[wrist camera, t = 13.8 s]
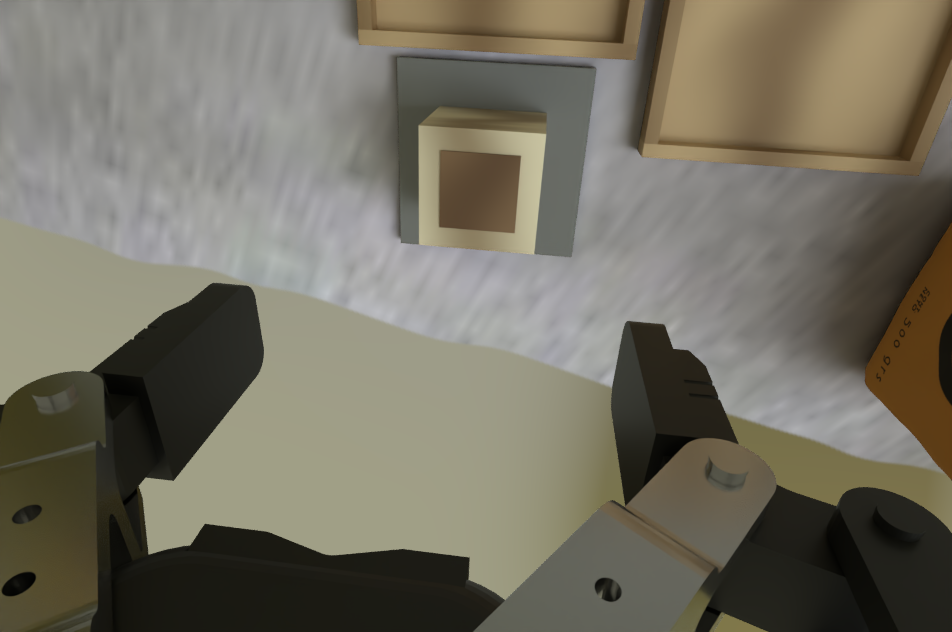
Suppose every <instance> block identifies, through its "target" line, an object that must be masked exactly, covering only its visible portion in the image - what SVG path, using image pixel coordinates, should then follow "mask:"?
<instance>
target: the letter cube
mask: <svg viewBox="0 0 952 632" xmlns="http://www.w3.org/2000/svg"><path fill="white" fill-rule="evenodd" d="M546 126H547V113H540V112H524V111H509V110H494V109H478V108H463V107H447V106H439V107H438V108H437V109H436V110H435V111H434V112H433V113H432V114H431V115H429V116H428V117H427V118H426V119H425V120H424V121H423V122H422V123H421V124H419V245H429V246H441V247H453V248H465V249H477V250H488V251H500V252H512V253H524V254H534V251H535V241H536V231H537V221H538V212H539V202H540V192H541V182H542V172H543V162H544V152H545V142H546Z"/></svg>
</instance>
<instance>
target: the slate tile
mask: <svg viewBox="0 0 952 632" xmlns="http://www.w3.org/2000/svg"><path fill="white" fill-rule="evenodd" d="M595 76H596V68H591V67H574V66H556V65H539V64H521V63H504V62H486V61H469V60H451V59H434V58H416V57H397V87H398V133H399V178H400V224H401V243H408V244H419V124H421V123H422V122H423V121H424V120H425V119H426V118H427V117H428V116H429V115H431V114H432V113H433V112H434V111H435V110H436V109H437V108H438V107H439V106H447V107H463V108H478V109H494V110H509V111H524V112H540V113H547V126H546V142H545V152H544V162H543V172H542V182H541V192H540V202H539V212H538V221H537V231H536V241H535V251H534V254H540V255H552V256H564V257H571V256H572V248H573V241H574V233H575V226H576V218H577V211H578V203H579V196H580V188H581V181H582V173H583V166H584V158H585V151H586V143H587V136H588V129H589V121H590V114H591V106H592V99H593V91H594V84H595Z"/></svg>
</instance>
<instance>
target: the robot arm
mask: <svg viewBox="0 0 952 632" xmlns="http://www.w3.org/2000/svg"><path fill="white" fill-rule="evenodd" d="M263 356H264V347H263V341H262V335H261V329H260V323H259V317H258V311H257V305H256V299H255V295H254V292H253V290H252V289H251V288H250V287H249V286H244V285H232V284H222V283H212V284H210V285H209V286H208V287H206V288H205V289H204V290H203V291H201V292H200V293H199V294H198V295H197V296H195V297H194V298H193V299H192V300H190V301H189V302H187V303H185V304H183V305H181V306H178V307H176V308H174V309H172V310H169V311H167V312H165V313H163V314H162V315H161V316H159V317H158V318H157V319H156V320H154V321H153V322H152V323H151V324H149V325H148V328H147V329H145V328H144V329H143V330H142V331H141V332H139V333H138V334H137V335H136V336H135V337H134V340H132V339H131V340H129V341H128V342H127V343H125V344H124V345H123V346H122V347H120V348H119V349H118V350H117V351H115V352H114V353H113V354H112V355H110V356H109V357H108V358H107V359H105V360H104V361H103V362H102V363H100V364H99V365H98V366H97V367H95V368H94V369H93V370H92V371H90V372H84V371H72V372H63V373H58V374H54V375H50V376H47V377H44V378H41V379H38V380H36V381H33V382H31V383H29V384H27V385H25V386H24V387H22V388H20V389H19V390H18V391H16V392H15V393H13V395H11V397H9V398H8V400H7V401H6V403H5V404H4V405H0V632H714V630H715V629H716V627H717V626H718V624H719V622H720V621H721V619H722V618H723V616H724V614H728V615H730V616H732V617H735V618H737V619H739V620H742V621H744V622H747V623H749V624H751V625H754V626H756V627H759V628H761V629H763V630H766V631H768V632H952V533H951V532H950V530H949V529H948V528H947V527H946V526H945V525H944V524H943V523H942V522H941V521H940V520H939V519H938V518H937V517H936V516H935V515H933V514H932V513H931V512H929V511H928V510H927V509H925V508H924V507H922V506H920V505H919V504H917V503H915V502H914V501H911V500H909V499H907V498H905V497H903V496H901V495H898V494H896V493H893V492H890V491H886V490H882V489H877V488H868V487H861V488H860V487H859V488H854V489H851V490H849V491H846V492H845V493H844V494H843V495H842V497H841V498H840V501H839V502H838V505H837V506H834V505H831V504H828V503H825V502H822V501H819V500H816V499H813V498H810V497H806V496H804V495H800V494H797V493H795V492H792V491H790V490H787V489H785V488H783V487H781V486H778V485H777V484H776V478H775V476H774V473H773V471H772V470H771V468H770V467H769V466H768V465H767V463H766V462H765V461H764V460H762V459H761V458H760V457H759V456H758V455H756V454H755V453H754V452H752V451H750V450H749V449H747V448H745V447H743V446H741V445H739V444H738V441H737V439H736V437H735V434H734V432H733V430H732V427H731V425H730V422H729V420H728V418H727V415H726V413H725V411H724V408H723V406H722V404H721V401H720V400H718V394H717V392H716V390H715V387H714V386H712V380H711V378H710V375H709V373H708V371H707V368H706V366H705V365H704V364H703V363H702V362H701V361H700V360H699V359H697V358H696V357H695V356H694V355H693V354H692V353H691V352H690V351H689V350H678V349H673V347H672V344H671V342H670V339H669V336H668V333H667V330H666V327H665V325H663V324H654V323H643V322H632V321H627V322H626V323H625V326H624V329H623V334H622V339H621V344H620V349H619V355H618V360H617V365H616V370H615V376H614V381H613V387H612V398H611V410H612V418H613V425H614V432H615V439H616V446H617V453H618V459H619V467H620V473H621V480H622V487H623V494H624V500H625V507H623V506H622V505H620V504H619V503H617V502H615V501H613V500H612V501H608V502H607V503H605V504H604V505H602V506H601V507H600V508H599V509H598V510H597V511H596V512H595V513H594V514H593V515H592V516H591V517H590V518H589V519H588V520H587V521H586V522H585V523H584V524H583V525H582V526H581V527H580V528H579V529H578V530H576V531H575V532H574V533H573V534H572V535H571V536H570V537H569V538H568V539H567V540H566V541H565V542H564V543H563V544H562V545H561V546H560V547H559V548H558V549H557V550H556V551H555V552H554V553H553V554H552V555H551V556H550V557H549V558H548V559H547V560H546V561H545V562H544V563H543V564H542V565H541V566H540V567H539V568H538V569H537V570H536V571H535V572H534V573H533V574H532V575H531V576H530V577H529V578H528V579H526V580H525V582H523V583H522V584H521V585H520V586H519V587H518V588H517V589H516V590H515V591H514V592H513V593H512V594H511V595H510V596H509V597H508V598H507V599H506V600H504V599H503V598H501V597H500V596H499V595H497V594H496V593H494V592H492V591H491V590H489V589H487V588H485V587H483V586H481V585H479V584H477V583H474V582H472V581H470V580H468V578H469V558H468V557H460V556H452V555H444V554H436V553H429V552H421V551H413V550H405V549H399V550H389V551H378V552H368V553H356V554H346V555H332V556H331V555H325V554H321V553H319V552H316V551H314V550H312V549H309V548H307V547H304V546H302V545H299V544H296V543H294V542H292V541H289V540H287V539H284V538H282V537H279V536H277V535H274V534H272V533H269V532H264V531H257V530H249V529H241V528H233V527H225V526H217V525H209V524H205V525H204V526H203V527H202V529H201V530H200V532H199V534H198V535H197V536H196V538H195V539H194V541H193V543H192V544H191V545H190V546H183V547H178V548H172V549H167V550H164V551H160V552H157V553H153V554H150V555H149V554H148V545H147V536H146V526H145V516H144V507H143V498H142V494H141V492H140V489H139V485H140V483H141V482H142V481H143V480H144V479H145V478H146V477H147V478H155V479H164V480H172V481H174V480H175V478H176V477H177V476H178V475H179V473H180V472H181V470H182V469H183V468H184V467H185V466H186V464H187V463H188V462H189V461H190V459H191V458H192V457H193V455H194V454H195V453H196V452H197V450H198V449H199V448H200V447H201V446H202V444H203V443H204V442H205V441H206V439H207V438H208V437H209V436H210V434H211V433H212V432H213V430H214V429H215V428H216V427H217V425H218V424H219V423H220V421H221V420H222V419H223V418H224V417H225V415H226V414H227V413H228V412H229V410H230V409H231V408H232V407H233V405H234V404H235V403H236V401H237V400H238V399H239V398H240V396H241V395H242V394H243V393H244V391H245V390H246V389H247V388H248V386H249V385H250V384H251V383H252V381H253V380H254V379H255V378H256V376H257V375H258V373H259V372H260V369H261V366H262V363H263Z"/></svg>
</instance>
